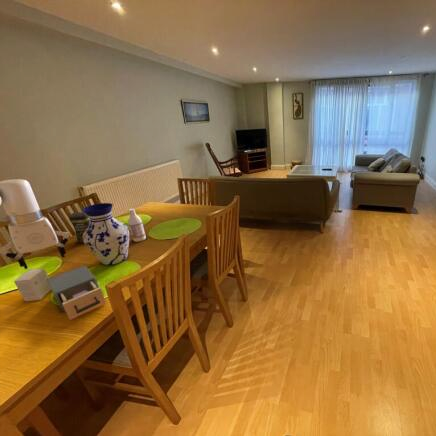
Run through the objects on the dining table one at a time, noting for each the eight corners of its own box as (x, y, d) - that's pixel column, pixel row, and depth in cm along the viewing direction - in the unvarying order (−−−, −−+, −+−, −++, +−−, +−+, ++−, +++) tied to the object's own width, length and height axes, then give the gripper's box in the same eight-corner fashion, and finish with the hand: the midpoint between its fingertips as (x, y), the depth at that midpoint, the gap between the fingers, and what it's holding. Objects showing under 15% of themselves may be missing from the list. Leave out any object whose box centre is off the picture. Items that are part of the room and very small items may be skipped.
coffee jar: (76, 244, 144) (64, 215, 136) (83, 238, 151) (72, 210, 144) (94, 242, 146) (84, 214, 139) (100, 236, 153) (91, 209, 146)
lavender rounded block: (79, 309, 91) (75, 300, 90) (76, 304, 94) (72, 295, 92) (93, 303, 94) (89, 294, 93) (89, 298, 97) (86, 289, 95)
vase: (107, 273, 116) (86, 216, 104) (84, 264, 123) (63, 210, 112) (143, 255, 132) (129, 203, 120) (122, 248, 139) (106, 199, 128)
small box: (39, 289, 105) (29, 269, 101) (54, 287, 106) (44, 268, 102) (24, 302, 98) (12, 281, 94) (40, 300, 99) (29, 279, 95)
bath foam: (132, 238, 150) (124, 209, 142) (145, 235, 154) (137, 206, 146) (134, 243, 145) (125, 212, 137) (147, 239, 148) (139, 209, 141)
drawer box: (101, 294, 102) (95, 277, 98) (63, 312, 93) (54, 293, 89) (91, 281, 110) (84, 265, 107) (54, 296, 101) (46, 278, 98)
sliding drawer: (110, 308, 94) (105, 293, 91) (73, 326, 85) (65, 310, 82) (95, 289, 104) (90, 275, 101) (61, 304, 96) (54, 289, 93)
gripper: (-14, 228, 71) (10, 276, 77) (63, 212, 83) (78, 255, 90) (-15, 222, 75) (8, 268, 81) (58, 208, 88) (73, 249, 94)
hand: (45, 261), depth 86 cm, fingers open, 9 cm apart
